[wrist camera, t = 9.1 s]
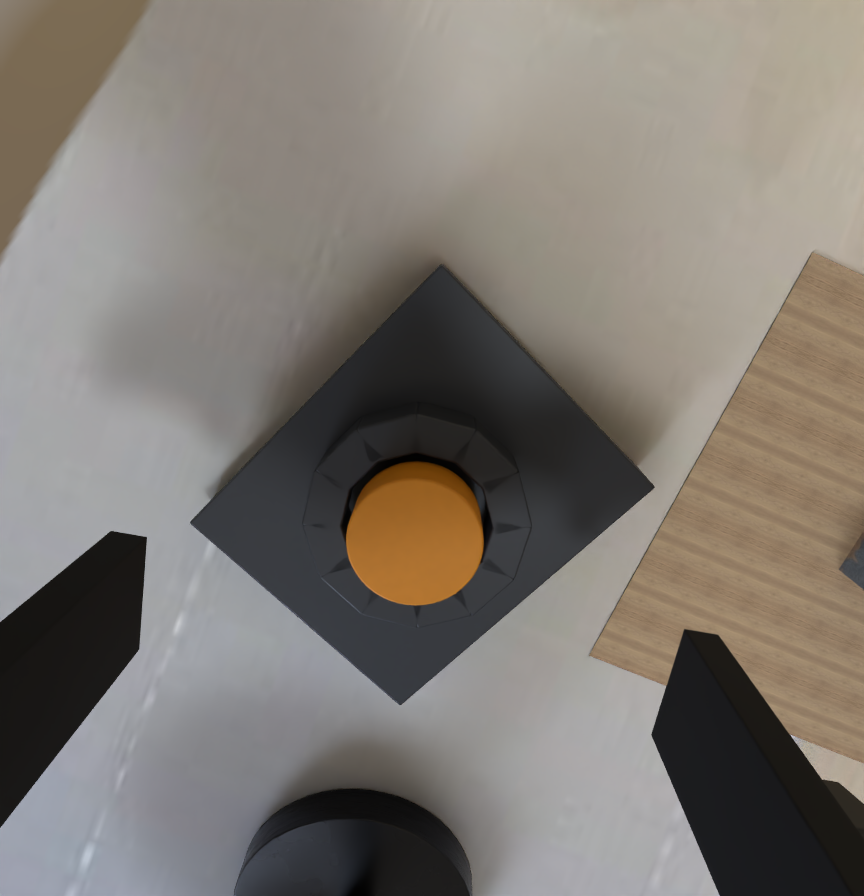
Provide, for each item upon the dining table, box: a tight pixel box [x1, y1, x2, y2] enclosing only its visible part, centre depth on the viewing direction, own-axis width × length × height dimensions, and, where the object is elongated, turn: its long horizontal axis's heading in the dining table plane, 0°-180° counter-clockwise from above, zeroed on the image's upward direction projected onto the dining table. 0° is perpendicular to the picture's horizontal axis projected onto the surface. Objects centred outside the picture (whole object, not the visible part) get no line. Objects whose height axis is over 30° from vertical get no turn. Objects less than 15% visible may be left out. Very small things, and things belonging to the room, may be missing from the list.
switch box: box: [190, 264, 654, 705], centre depth 23 cm, size 10×12×4 cm
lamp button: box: [346, 461, 484, 605], centre depth 21 cm, size 4×4×2 cm
